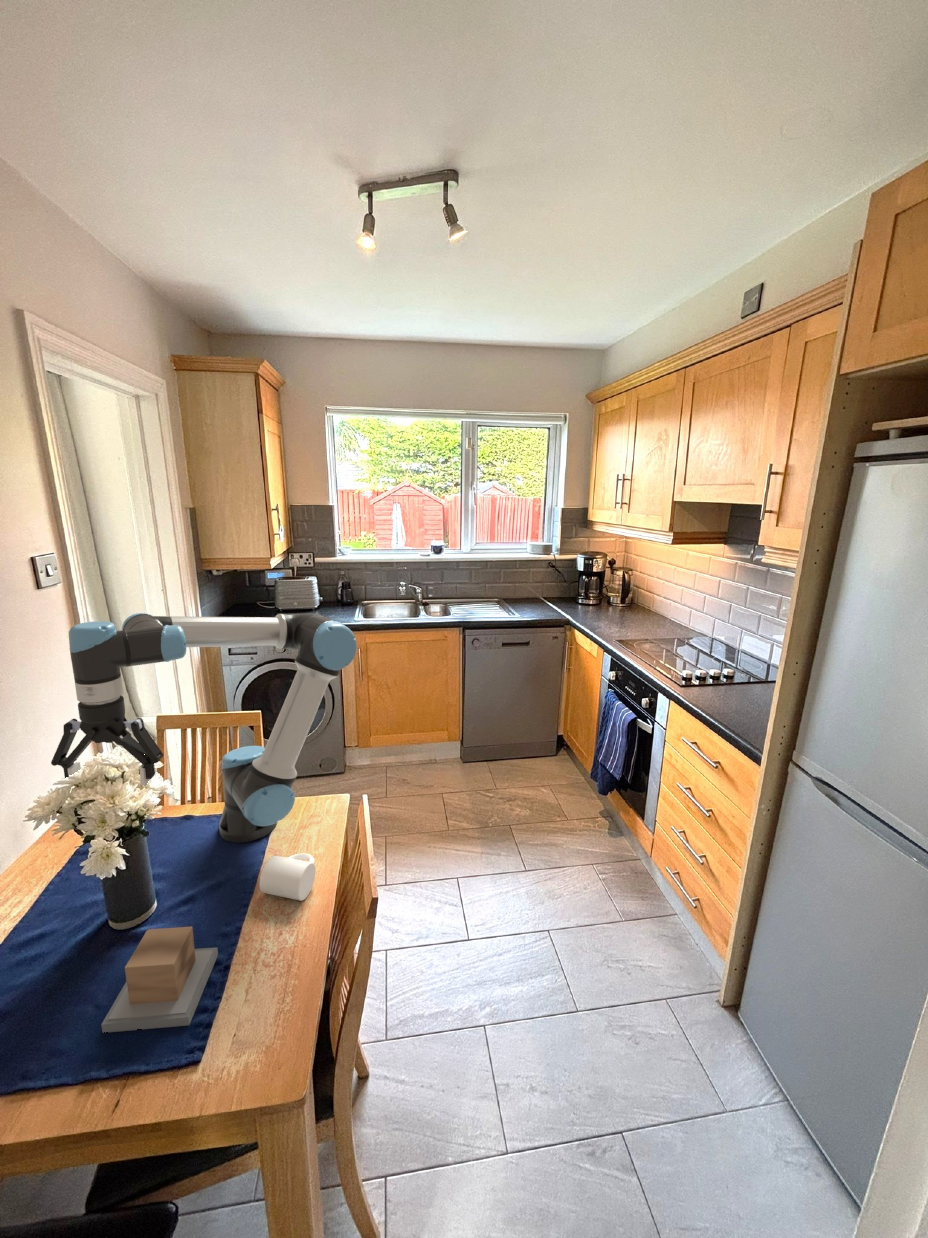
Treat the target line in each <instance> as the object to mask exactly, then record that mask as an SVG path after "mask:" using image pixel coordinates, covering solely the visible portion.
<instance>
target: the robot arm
mask: <svg viewBox="0 0 928 1238" xmlns="http://www.w3.org/2000/svg"><path fill="white" fill-rule="evenodd" d="M68 644H69V648H68V649H69V653H70V661H71V665H72V672H73V678H74V687H75V694H76V699H77V701H78V703H77V707H78V708H77V710H78V718H79V720H80V721H78V719H77V718H71V719H70V720H69V721H67V722H66V723H64V724H63V734H62V736H61V739H60V741H59V743H58V746H57V748H56V750H55V752H54V755H53V757H52V760H51V762H50V765H52V766H54V767H56V766H60V767H62V770H63V774H64V779H65V778H66V777H69V775H72V774H74V773H75V772H77V771H78V770H80V769H81V767H82V766H81V762H80V761H79V762H76V761H77V760H78V759H79V758H80V756H81V755H82V753H83V752H84V751H85V750H86V749H87V748H88V747H89V746H90V744H91V743H92V742H94V743H95V744H101V743H105V744H106V743H107V744H112V743H113V742H114V743H115V744H116V745H117V746H121V747H122V748H123V749H124V750H125V751H126V752H128V753H129V754H130V755H131V756H132V757H133V758H134V759H136V760H137V761H138V762H139V763H140V764H141V765H140V766H139V767H138V769H139V777H140V785H141V784H142V785H144V786H146V785H147V783H148V781H149V780H150V779H152V778H154V776H155V775H156V769H155V764H157V763H159V762H160V761H161V760H162V758H164V753H163V752H162V750H161V749H160V747H159V746H158V745H157V743H156V742H155V740H154V739H153V737H152V736H151V734H150V733H149V731H148V730H147V729H146V727H145V723H144V719H143V718H142V717H137V718H136V719H135V720H127V718H126V706H125V698H124V696H123V694H124V689H123V682H122V681H123V680H122V673H121V668H126V667H135V666H141V665H148V664H149V665H151V664H156V663H165V662H167V663H169V662H170V661H171V662H172V661H176V660H181V659H183V658H184V657H185V656H186V654H187V648H215V647H218V648H219V647H225V648H226V647H257V646H258V647H263V646H265V647H266V646H274V647H275V648H276V649H277V650H278V649H279V650H293V651H296V652H298V653H297V655H296V657H295V659H294V664H295V665H296V667H297V671H296V673H295V675H294V678H293V680H292V683H291V686H290V688H289V690H288V693H287V695H286V697H285V699H284V702H283V705H282V707H281V709H280V711H279V714H278V716H277V718H276V721H275V723H274V726H273V727H272V731H271V733H270V734H269V735H270V736H269V738H268V740H267V742H266V745H265V747H264V746H261V745H245V746H242V747H238V748H236V749H233V750H230V751H228V752H227V753H225V754H224V755H223V757H222V759H221V766H220V769H221V771H222V773H221V774H222V786H223V787H222V788H223V799H224V806H223V810H222V814H221V817H220V821H219V823H218V824H219V825H218V826H219V827H218V828H219V834H220V837H221V838H222V839H223V840H224V841H226V842H227V841H228V842H231V843H236V844H237V843H242V844H243V843H247V842H248V843H249V842H253V841H256V840H259V839H261V838H263V837H266V835H269V834H270V833H271V832H272V831H274V829H275V828H276V826H277V825H278V822H279V821H282V820H283V819H285V818H286V817H287V816H288V814H289V813H291V811H292V809H293V807H294V805H295V802H296V797H295V792H294V790H293V786H294V784H295V782H296V778H297V776H298V772H297V770H296V767H295V766H296V763H297V761H298V758H299V756H300V754H301V750H302V748H303V746H304V744H305V741H306V739H307V736H308V734H309V732H310V730H311V726H312V724H313V722H314V720H315V718H316V714H317V712H318V710H319V707H320V705H321V702H322V699H323V697H324V695H325V693H326V691H327V688H328V686H329V684H330V681H331V680H334V679H336V678H338V677H339V674H340V672H341V670H342V669H345V668H346V666H349V665H350V664H351V663H352V662H353V661H354V658H355V656H356V653H357V648H358V645H357V640H356V636H355V633H354V632H353V631H352V630H351V629H350V628H349V627H347V626H346V625H345V624H344V623H342V622H340V621H336V620H334V619H331V618H329V617H326V616H325V615H322V614H320V613H319V614H318V613H309V612H308V613H307V612H306V613H277V614H276V615H275V616H274V617H269V616H268V617H266V616H265V617H263V616H262V617H259V616H257V617H256V616H254V617H253V616H251V617H250V616H246V617H245V616H177V615H175V616H173V615H172V616H166V615H158V616H157V615H152V614H149V613H145V612H138V613H137V612H136V613H133V614H131V615H129V616H128V617H127V618H126V619H125V620H124V621H123V623H122V625H121V630H118V629H117V628H116V625H115V624H114V623H113V622H111V621H102V620H101V621H89V622H88V621H86V622H82V623H77V624H75V625H73V626H72V627H71V628H69V631H68ZM127 728H128V730H127ZM79 730H80V731H81V732H83V733H84V734H85V736H83V738H82V739H81V740H80V741H79V743H78V745H76V747H75V748H74V749H73V750H72V752H70V754H69V751H70V749H71V746H72V744H73V742H74V740H75V737H76V735H77V732H78V731H79ZM132 735H133V736H132ZM121 737H122V738H121ZM144 754H145V755H144ZM67 755H68V756H67ZM81 770H82V769H81Z"/></svg>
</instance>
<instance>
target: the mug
mask: <svg viewBox="0 0 928 1238" xmlns="http://www.w3.org/2000/svg"><path fill="white" fill-rule="evenodd" d="M315 863H316V860H315V857H314V856H312V855H311V854H309V853H306V852H305V853H303V852H302V853H301V852H300V853H296V854H293V855H290V856H288V857H285V856H281V855H272V856H270V857H269V858H268V860H267V861H266V863H265V864H264V865H263V868H262V871H261V873H260V876H259V877H260V878H259V889H260V892H261V893H263V894H266V895H267V894H268V895H272V896H277V897H281V898H282V897H283V898H287V899H291V900H296V901H304V900H305V899H306V898H307V897H308V896H309V894H310V893H311V890H312V888H313V886H314V882H315V879H316V865H315Z"/></svg>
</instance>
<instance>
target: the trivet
mask: <svg viewBox="0 0 928 1238" xmlns="http://www.w3.org/2000/svg"><path fill="white" fill-rule="evenodd" d="M218 955H219V949H218V946H217V947H204V948H195V959H196V961H195V963H194V965H193V968H192V970H191V972H190V974H189V977H188V979H187V981H186V983H185V985H184V988H183V990H182V992H181V994H180V997H179V999H178V1001H166V1002H154V1003H142V1004H130V1003H129V996H128V988H127V981H125V983H124V985H123V986H122V988H121V989H120V992H119V993H118V995H117V996H116V999H115V1000H114V1002H113V1004H112V1005H111V1007H110V1009H109V1011H108V1012H107V1014H106V1016H105V1018H104V1019H103V1021H102V1023H101V1025H100V1026H101V1031H102V1034H105V1033H106V1032H108V1033H117V1032H126V1031H127V1032H129V1031H138V1030H137V1029H142V1030H150V1029H161V1028H172V1027H174V1028H176V1027H186V1026H190V1024H191V1022H192V1019H193V1017H194V1016H195V1012H196V1010H197V1007H198V1005H199V1002H200V1001H201V998H202V996H203V992H204V989H205V987H206V986H207V982H208V981H209V977H210V976H211V973H212V971H213V969H214V966H215V963H216V961H217V959H218ZM104 1032H105V1033H104ZM106 1034H107V1033H106Z"/></svg>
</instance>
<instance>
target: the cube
mask: <svg viewBox="0 0 928 1238" xmlns="http://www.w3.org/2000/svg"><path fill="white" fill-rule="evenodd" d="M193 929H194V928H193V926H178V927H164V928H162V927H161V928H148V929H147V930H146V931H145V933H144V935H143V937H142V938H141V940H140V941H139V943H138V945H137V946H136V948H135V950H134V952H133V953H132V955H131V957H130V958H129V960H128V961H127V963H126V965H125V966H124V973H125V980H126V981H127V988H128V996H129V1003H130V1004H142V1003H154V1002H166V1001H178V999H179V997H180V994H181V992H182V990H183V988H184V985H185V983H186V981H187V979H188V977H189V974H190V972H191V970H192V968H193V965H194V963H195V961H196V959H195V949H196V947H195V940H194V930H193ZM126 981H125V982H126Z"/></svg>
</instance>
